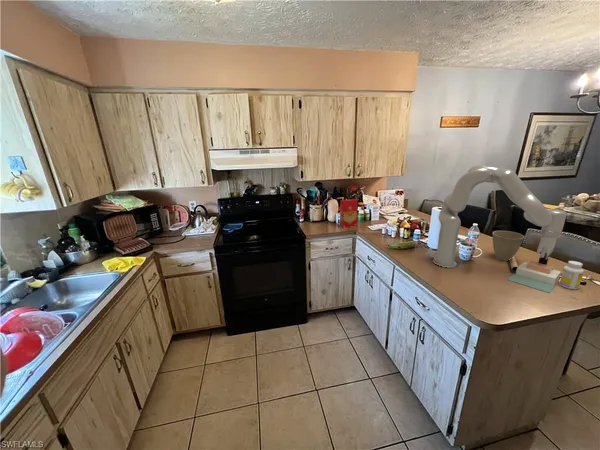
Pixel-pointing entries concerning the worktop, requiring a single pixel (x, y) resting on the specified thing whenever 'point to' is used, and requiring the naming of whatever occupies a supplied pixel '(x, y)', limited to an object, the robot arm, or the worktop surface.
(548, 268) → the tile
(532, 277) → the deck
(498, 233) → the plant pot
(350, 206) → the food packaging
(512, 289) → the worktop surface
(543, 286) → the mat
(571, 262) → the supplement bottle
